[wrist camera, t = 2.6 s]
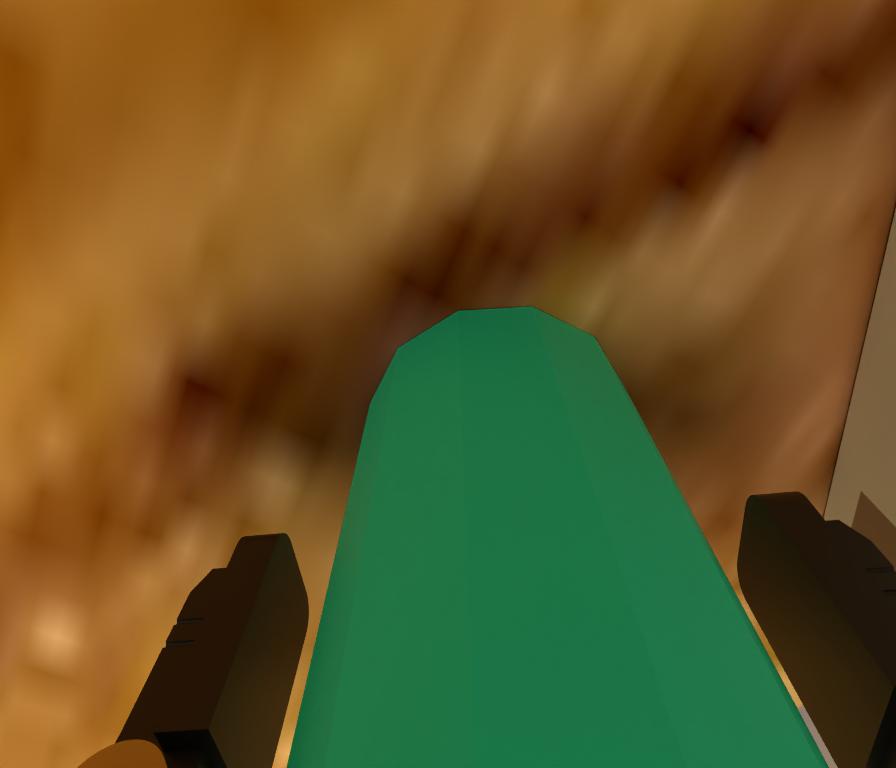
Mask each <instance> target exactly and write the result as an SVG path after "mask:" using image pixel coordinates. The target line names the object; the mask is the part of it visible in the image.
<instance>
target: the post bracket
mask: <svg viewBox="0 0 896 768" xmlns="http://www.w3.org/2000/svg"><path fill="white" fill-rule="evenodd" d="M824 520H825V521H828V520H840V521H842V522H843V523H845V524H846V525H848V526H849V527H851V528H852V529H854V530H855V531H857V532H859V533H860V534H862V535H863V536H865V537H866V538H868V539H869V540H871V541H872V542H873V543H874V544H875V546H876V547H877V548H878V549H879V550H880V551H881V552H882V554H883V555H884V556H885V557H886V558H887V559H888V560H889V562H890V563H891V564H892V565H893V566H894V570H895V572H896V209H895V213H894V218H893V222H892V226H891V231H890V235H889V239H888V243H887V248H886V252H885V256H884V261H883V265H882V269H881V274H880V278H879V282H878V286H877V291H876V295H875V299H874V304H873V308H872V312H871V317H870V321H869V325H868V329H867V334H866V338H865V342H864V347H863V351H862V355H861V360H860V364H859V368H858V372H857V377H856V381H855V385H854V390H853V394H852V398H851V403H850V407H849V411H848V415H847V420H846V424H845V428H844V433H843V437H842V441H841V445H840V450H839V454H838V458H837V463H836V467H835V471H834V476H833V480H832V484H831V488H830V493H829V497H828V501H827V506H826V510H825V514H824Z"/></svg>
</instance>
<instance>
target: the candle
mask: <svg viewBox="0 0 896 768" xmlns="http://www.w3.org/2000/svg"><path fill="white" fill-rule="evenodd" d="M287 768H829V767H828V765H827V763H826V761H825V759H824V757H823V756H822V754H821V752H820V750H819V748H818V746H817V745H816V743H815V741H814V739H813V737H812V735H811V733H810V732H809V730H808V728H807V726H806V724H805V722H804V720H803V718H802V716H801V715H800V713H799V711H798V709H797V707H796V705H795V703H794V702H793V700H792V698H791V696H790V694H789V692H788V690H787V689H786V687H785V685H784V683H783V681H782V679H781V677H780V675H779V674H778V672H777V670H776V668H775V666H774V664H773V662H772V661H771V659H770V657H769V655H768V653H767V651H766V649H765V648H764V646H763V644H762V642H761V640H760V638H759V636H758V635H757V633H756V631H755V629H754V627H753V625H752V623H751V622H750V620H749V618H748V616H747V614H746V612H745V610H744V608H743V607H742V605H741V603H740V601H739V599H738V597H737V595H736V594H735V592H734V590H733V588H732V586H731V584H730V582H729V581H728V579H727V577H726V575H725V573H724V571H723V569H722V568H721V566H720V564H719V562H718V560H717V558H716V556H715V554H714V553H713V551H712V549H711V547H710V545H709V543H708V541H707V540H706V538H705V536H704V534H703V532H702V530H701V528H700V527H699V525H698V523H697V521H696V519H695V517H694V515H693V514H692V512H691V510H690V508H689V506H688V504H687V502H686V501H685V499H684V497H683V495H682V493H681V491H680V489H679V487H678V486H677V484H676V482H675V480H674V478H673V476H672V474H671V473H670V471H669V469H668V467H667V465H666V463H665V461H664V460H663V458H662V456H661V454H660V452H659V450H658V448H657V447H656V445H655V443H654V441H653V439H652V437H651V435H650V433H649V432H648V430H647V428H646V426H645V424H644V422H643V420H642V419H641V417H640V415H639V413H638V411H637V409H636V407H635V406H634V404H633V402H632V400H631V398H630V396H629V394H628V393H627V391H626V389H625V387H624V386H623V384H622V382H621V381H620V379H619V377H618V375H617V374H616V372H615V370H614V369H613V367H612V365H611V364H610V362H609V360H608V359H607V357H606V355H605V354H604V352H603V350H602V349H601V347H600V345H599V344H598V342H597V340H596V339H595V337H594V336H592V335H590V334H588V333H586V332H584V331H581V330H579V329H577V328H575V327H573V326H571V325H569V324H567V323H565V322H563V321H561V320H559V319H557V318H555V317H553V316H551V315H548V314H546V313H544V312H542V311H540V310H538V309H536V308H534V307H532V306H531V307H513V308H496V309H479V310H462V311H457V312H455V313H453V314H452V315H450V316H449V317H447V318H445V319H444V320H442V321H440V322H439V323H437V324H436V325H434V326H432V327H431V328H429V329H428V330H426V331H424V332H423V333H421V334H419V335H418V336H416V337H415V338H413V339H411V340H410V341H408V342H407V343H405V344H403V345H402V346H400V347H398V349H397V351H396V353H395V355H394V357H393V359H392V361H391V363H390V365H389V367H388V369H387V371H386V373H385V375H384V376H383V378H382V380H381V382H380V384H379V386H378V388H377V390H376V392H375V394H374V396H373V398H372V400H371V402H370V406H369V410H368V414H367V419H366V423H365V427H364V432H363V436H362V441H361V445H360V449H359V454H358V458H357V462H356V467H355V471H354V476H353V480H352V484H351V489H350V493H349V497H348V502H347V506H346V511H345V515H344V519H343V524H342V528H341V532H340V537H339V541H338V546H337V550H336V554H335V559H334V563H333V567H332V572H331V576H330V581H329V585H328V589H327V594H326V598H325V602H324V607H323V611H322V615H321V620H320V624H319V629H318V633H317V637H316V642H315V646H314V650H313V655H312V659H311V664H310V668H309V672H308V677H307V681H306V685H305V690H304V694H303V699H302V703H301V707H300V712H299V716H298V720H297V725H296V729H295V734H294V738H293V742H292V747H291V751H290V755H289V760H288V764H287Z"/></svg>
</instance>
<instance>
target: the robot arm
mask: <svg viewBox="0 0 896 768" xmlns="http://www.w3.org/2000/svg"><path fill="white" fill-rule="evenodd" d="M737 571H738V578H739V583H740V587H741V590H742V593H743V595H744V597H745V599H746V601H747V603H748V605H749V607H750V609H751V611H752V612H753V614H754V616H755V618H756V620H757V621H758V623H759V625H760V627H761V629H762V631H763V632H764V634H765V636H766V638H767V640H768V641H769V643H770V645H771V647H772V649H773V651H774V652H775V654H776V656H777V658H778V660H779V662H780V663H781V665H782V667H783V669H784V671H785V672H786V674H787V676H788V678H789V680H790V682H791V683H792V685H793V687H794V689H795V691H796V692H797V694H798V696H799V698H800V700H801V702H802V703H803V705H804V707H805V709H806V711H807V712H808V714H809V716H810V718H811V720H812V722H813V723H814V725H815V727H816V729H817V730H818V733H819V734H820V736H821V738H822V740H823V742H824V743H825V745H826V747H827V749H828V750H829V752H830V754H831V756H832V758H833V760H834V762H835V763H836V765H837V767H838V768H896V572H895V570H894V566H893V565H892V564H891V563H890V562H889V560H888V559H887V558H886V557H885V556H884V555H883V554H882V552H881V551H880V550H879V549H878V548H877V547H876V546H875V544H874V543H873V542H872V541H871V540H869V539H868V538H866V537H865V536H863V535H862V534H860V533H859V532H857V531H855V530H854V529H852V528H851V527H849V526H848V525H846V524H845V523H843V522H842V521H840V520H828V521H825V520H824V518H823V517H822V516H821V515H820V514H819V512H818V511H817V510H816V509H815V507H814V506H813V505H812V504H811V503H810V501H809V500H808V499H807V498H806V497H805V496H804V495H803V494H802V493H800V492H784V493H772V494H760V495H751V496H750V497H749V498H748V499H747V502H746V506H745V513H744V520H743V526H742V533H741V540H740V546H739V553H738V560H737ZM308 618H309V606H308V597H307V593H306V589H305V586H304V583H303V580H302V576H301V573H300V570H299V567H298V563H297V560H296V557H295V553H294V550H293V547H292V544H291V541H290V538H289V537H288V535H287V534H285V533H279V534H267V535H256V536H245V537H242V538H241V539H240V540H239V542H238V544H237V546H236V548H235V550H234V553H233V555H232V557H231V559H230V562H229V564H228V566H227V568H218V569H212V570H211V571H210V572H209V573H208V575H207V576H206V577H205V578H204V579H203V580H202V581H201V582H200V583H199V584H198V585H197V586H196V587H195V588H194V589H193V590H192V591H191V592H190V594H189V596H188V598H187V600H186V602H185V604H184V606H183V608H182V610H181V612H180V614H179V616H178V618H177V624H176V625H174V626H173V628H172V630H171V632H170V634H169V636H168V638H167V640H166V647H165V648H162V650H161V652H160V654H159V657H158V659H157V661H156V663H155V665H154V667H153V669H152V671H151V673H150V675H149V677H148V679H147V681H146V683H145V685H144V687H143V689H142V691H141V693H140V695H139V697H138V699H137V701H136V703H135V705H134V707H133V709H132V711H131V713H130V715H129V717H128V719H127V721H126V723H125V725H124V727H123V729H122V731H121V733H120V735H119V737H118V739H117V740H116V742H115V744H113V745H110V746H108V747H106V748H104V749H102V750H100V751H98V752H97V753H95V754H94V755H92V756H91V757H90V758H88V759H87V760H86V761H84V762H83V763H82V764H81V765H80V766H79V767H78V768H272V765H273V761H274V757H275V753H276V750H277V746H278V742H279V738H280V734H281V730H282V726H283V722H284V718H285V714H286V710H287V706H288V702H289V699H290V695H291V691H292V687H293V683H294V679H295V675H296V671H297V667H298V663H299V659H300V655H301V652H302V648H303V644H304V640H305V636H306V632H307V627H308Z"/></svg>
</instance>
